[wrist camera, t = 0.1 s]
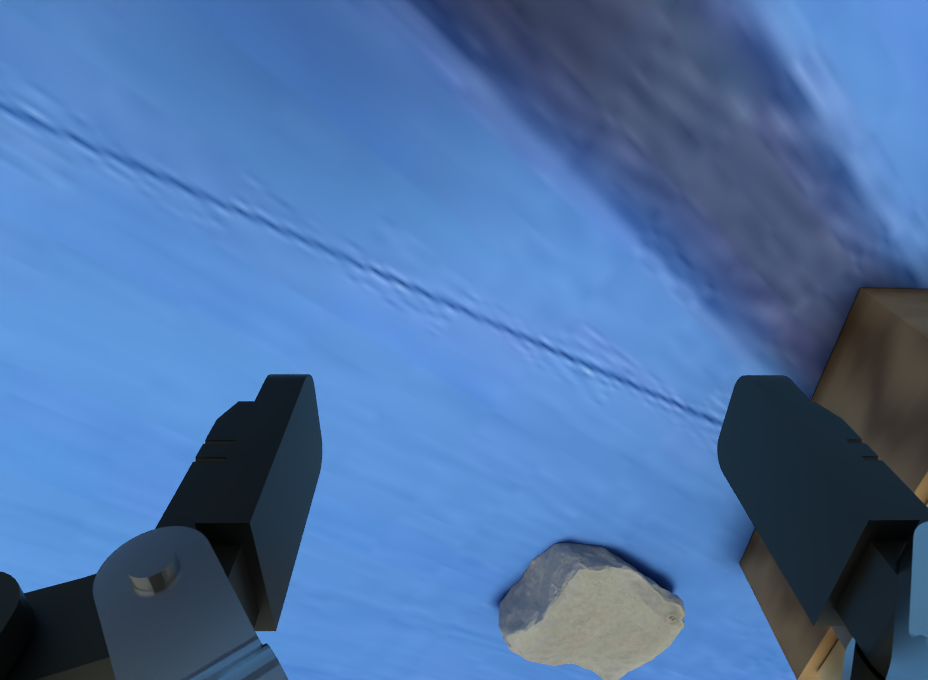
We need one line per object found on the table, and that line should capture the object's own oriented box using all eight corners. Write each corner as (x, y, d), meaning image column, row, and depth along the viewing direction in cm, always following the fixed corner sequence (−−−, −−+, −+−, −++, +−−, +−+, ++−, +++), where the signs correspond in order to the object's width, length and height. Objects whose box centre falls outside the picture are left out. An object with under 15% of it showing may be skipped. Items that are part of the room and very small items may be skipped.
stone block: (552, 509, 40) (485, 610, 43) (574, 559, 36) (498, 668, 39) (680, 554, 44) (611, 644, 47) (714, 604, 40) (636, 701, 42)
